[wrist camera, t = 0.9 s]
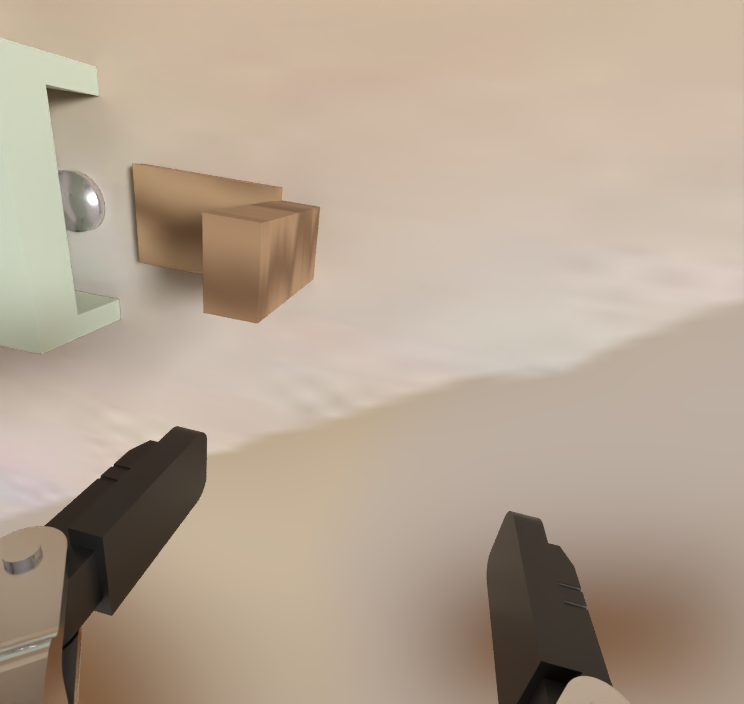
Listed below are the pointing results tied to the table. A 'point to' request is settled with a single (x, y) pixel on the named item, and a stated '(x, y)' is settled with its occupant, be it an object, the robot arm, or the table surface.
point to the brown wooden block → (226, 238)
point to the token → (81, 201)
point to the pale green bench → (38, 208)
